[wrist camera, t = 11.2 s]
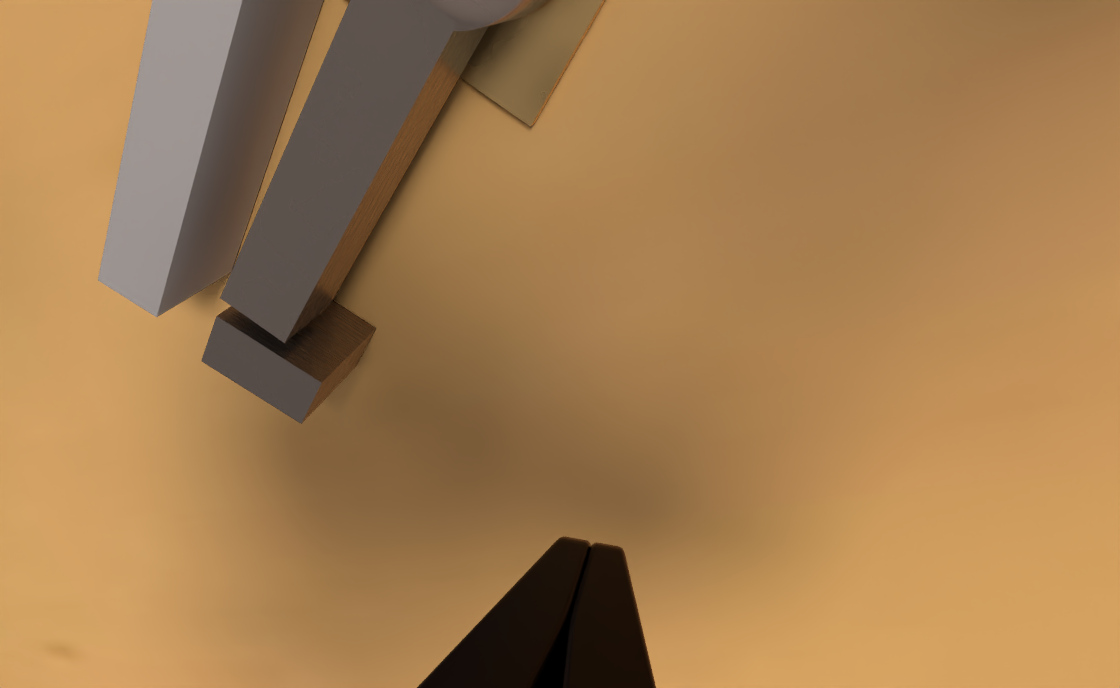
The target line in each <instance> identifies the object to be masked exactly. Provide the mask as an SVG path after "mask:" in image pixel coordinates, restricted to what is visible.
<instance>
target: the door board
mask: <svg viewBox="0 0 1120 688" xmlns="http://www.w3.org/2000/svg"><path fill="white" fill-rule="evenodd" d="M322 3H323V0H153V1H152V6H151V11H150V16H149V21H148V27H147V32H146V37H145V42H144V47H143V52H142V57H141V62H140V68H139V73H138V78H137V83H136V88H135V93H134V98H133V103H132V108H131V114H130V119H129V124H128V129H127V134H126V139H125V144H124V149H123V155H122V160H121V165H120V170H119V175H118V180H117V185H116V190H115V196H114V201H113V206H112V211H111V216H110V221H109V226H108V231H107V236H106V242H105V247H104V252H103V257H102V262H101V267H100V272H99V277H98V281H100V282H102V283H103V284H105V285H106V286H108V287H109V288H111V289H113V290H114V291H116V292H117V293H119V294H121V295H122V296H124V297H125V298H127V299H129V300H130V301H132V302H133V303H135V304H136V305H138V306H140V307H141V308H143V309H144V310H146V311H148V312H149V313H151V314H152V315H154V316H156V317H158V316H160V315H161V314H163V313H164V312H166V311H168V310H169V309H171V308H173V307H174V306H176V305H178V304H179V303H181V302H183V301H184V300H186V299H188V298H189V297H191V296H193V295H194V294H196V293H197V292H199V291H201V290H202V289H204V288H206V287H207V286H209V285H211V284H212V283H214V282H216V281H217V280H219V279H221V278H222V277H224V276H225V275H227V274H229V273H230V272H232V269H233V266H234V263H235V260H236V257H237V254H238V251H239V248H240V245H241V242H242V239H243V236H244V233H245V230H246V227H247V224H248V221H249V218H250V215H251V213H252V210H253V207H254V204H255V201H256V198H257V195H258V192H259V189H260V186H261V183H262V180H263V177H264V174H265V171H266V168H267V165H268V162H269V159H270V156H271V153H272V150H273V148H274V145H275V142H276V139H277V136H278V133H279V130H280V127H281V124H282V121H283V118H284V115H285V112H286V109H287V106H288V103H289V100H290V97H291V94H292V91H293V88H294V86H295V83H296V80H297V77H298V74H299V71H300V68H301V65H302V62H303V59H304V56H305V53H306V50H307V47H308V44H309V41H310V38H311V35H312V32H313V29H314V26H315V23H316V21H317V18H318V15H319V12H320V9H321V6H322Z"/></svg>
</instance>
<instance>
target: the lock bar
mask: <svg viewBox="0 0 1120 688" xmlns="http://www.w3.org/2000/svg"><path fill="white" fill-rule="evenodd" d="M546 1H547V0H350V2H349V4H348V7H347V9H346V11H345V14H344V16H343V18H342V20H341V23H340V25H339V27H338V30H337V32H336V34H335V37H334V39H333V41H332V43H331V46H330V48H329V50H328V53H327V55H326V57H325V59H324V62H323V64H322V66H321V69H320V71H319V73H318V75H317V78H316V80H315V82H314V85H313V87H312V89H311V91H310V94H309V96H308V98H307V101H306V103H305V105H304V107H303V110H302V112H301V114H300V117H299V119H298V121H297V123H296V126H295V128H294V130H293V133H292V135H291V137H290V139H289V142H288V144H287V146H286V149H285V151H284V153H283V156H282V158H281V160H280V162H279V165H278V167H277V169H276V172H275V174H274V176H273V178H272V181H271V183H270V185H269V188H268V190H267V192H266V194H265V197H264V199H263V201H262V204H261V206H260V208H259V210H258V213H257V215H256V217H255V220H254V222H253V224H252V226H251V229H250V231H249V233H248V236H247V238H246V240H245V242H244V245H243V247H242V249H241V252H240V254H239V256H238V258H237V261H236V263H235V265H234V268H233V270H232V272H231V275H230V277H229V279H228V281H227V284H226V286H225V288H224V291H223V293H222V295H221V297H220V298H221V299H222V300H224V301H225V302H227V303H228V304H229V305H231V306H232V307H234V308H235V309H237V310H238V311H239V312H241V313H242V314H244V315H245V316H247V317H248V318H249V319H251V320H252V321H254V322H255V323H256V324H258V325H259V326H261V327H262V328H264V329H265V330H266V331H268V332H269V333H271V334H272V335H274V336H275V337H276V338H278V339H279V340H281V341H282V342H283V343H285V342H287V341H288V340H289V339H290V338H291V337H293V336H294V335H295V334H296V333H297V332H299V331H300V330H301V329H302V328H303V327H305V326H306V325H307V324H308V323H309V322H311V321H312V320H313V319H314V318H315V317H317V316H318V315H319V314H320V313H321V312H323V311H324V310H325V309H326V308H327V307H329V305H330V304H331V302H332V300H333V298H334V297H335V295H336V293H337V291H338V290H339V288H340V286H341V284H342V283H343V281H344V279H345V277H346V276H347V274H348V272H349V270H350V269H351V267H352V265H353V263H354V262H355V260H356V258H357V256H358V254H359V253H360V251H361V249H362V247H363V246H364V244H365V242H366V240H367V239H368V237H369V235H370V233H371V232H372V230H373V228H374V226H375V225H376V223H377V221H378V219H379V218H380V216H381V214H382V212H383V211H384V209H385V207H386V205H387V204H388V202H389V200H390V198H391V196H392V195H393V193H394V191H395V189H396V188H397V186H398V184H399V182H400V181H401V179H402V177H403V175H404V174H405V172H406V170H407V168H408V167H409V165H410V163H411V161H412V160H413V158H414V156H415V154H416V153H417V151H418V149H419V147H420V146H421V144H422V142H423V140H424V139H425V137H426V135H427V133H428V131H429V130H430V128H431V126H432V124H433V123H434V121H435V119H436V117H437V116H438V114H439V112H440V110H441V109H442V107H443V105H444V103H445V102H446V100H447V98H448V96H449V95H450V93H451V91H452V89H453V88H454V86H455V84H456V82H457V81H458V79H459V77H460V75H461V74H462V72H463V70H464V68H465V66H466V65H467V63H468V61H469V59H470V58H471V56H472V54H473V52H474V51H475V49H476V47H477V45H478V44H479V42H480V40H481V38H482V37H483V35H484V33H485V31H486V30H487V28H488V26H490V25H494V24H498V23H502V22H506V21H510V20H514V19H518V18H521V17H523V16H525V15H528V14H529V13H531V12H533V11H534V10H536V9H537V8H539V7H540V6H541V5H542V4H543V3H545V2H546Z"/></svg>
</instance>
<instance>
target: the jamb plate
mask: <svg viewBox="0 0 1120 688" xmlns="http://www.w3.org/2000/svg"><path fill="white" fill-rule="evenodd" d="M604 2H605V0H547V1H546V2H545V3H543V4H542V5H541V6H540V7H539V8H537V9H536V10H534V11H533V12H531V13H529V14H528V15H525V16H523V17H521V18H518V19H514V20H510V21H506V22H502V23H498V24H494V25H490V26H488V28H487V30H486V31H485V33H484V35H483V37H482V38H481V40H480V42H479V44H478V45H477V47H476V49H475V51H474V52H473V54H472V56H471V58H470V59H469V61H468V63H467V65H466V66H465V68H464V70H463V72H462V74H461V75H460V78H462V79H463V80H464V81H466V82H467V83H469V84H470V85H472V86H473V87H474V88H476V89H477V90H479V91H480V92H482V93H483V94H484V95H486V96H487V97H489V98H490V99H492V100H493V101H494V102H496V103H497V104H499V105H500V106H502V107H503V108H504V109H506V110H507V111H509V112H510V113H512V114H513V115H514V116H516V117H517V118H519V119H520V120H522V121H523V122H524V123H526V124H527V125H529V126H530V127H531V126H532V125H533V124H534V123H535V122H536V120H537V118H538V116H539V115H540V113H541V111H542V110H543V108H544V106H545V104H546V103H547V101H548V99H549V97H550V96H551V94H552V92H553V90H554V89H555V87H556V85H557V83H558V82H559V80H560V78H561V76H562V75H563V73H564V71H565V70H566V68H567V66H568V64H569V63H570V61H571V59H572V57H573V56H574V54H575V52H576V50H577V49H578V47H579V45H580V43H581V42H582V40H583V38H584V37H585V35H586V33H587V31H588V30H589V28H590V26H591V24H592V23H593V21H594V19H595V17H596V16H597V14H598V12H599V10H600V9H601V7H602V5H603V3H604Z"/></svg>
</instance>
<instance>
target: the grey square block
mask: <svg viewBox="0 0 1120 688" xmlns="http://www.w3.org/2000/svg"><path fill="white" fill-rule="evenodd" d="M375 329H376V328H374V327H373V326H371V325H369V324H368V323H366V322H365V321H363V320H362V319H360V318H359V317H357V316H356V315H354V314H353V313H351V312H349V311H348V310H346V309H345V308H343V307H342V306H340V305H339V304H337V303H336V302H334V301H333V300H332V302H331V304H330V305H329V307H327V308H326V309H325V310H324V311H323V312H321V313H320V314H319V315H318V316H317V317H315V318H314V319H313V320H312V321H311V322H309V323H308V324H307V325H306V326H305V327H303V328H302V329H301V330H300V331H299V332H297V333H296V334H295V335H294V336H293V337H291V338H290V339H289V340H288V341H287V342H285V343H283V342H282V341H281V340H279V339H278V338H276V337H275V336H274V335H272V334H271V333H269V332H268V331H266V330H265V329H264V328H262V327H261V326H259V325H258V324H256V323H255V322H254V321H252V320H251V319H249V318H248V317H247V316H245V315H244V314H242V313H241V312H239V311H238V310H237V309H235V308H234V307H232V306H231V307H229V308H228V309H226V310H225V311H223V312H222V313H221V314H219V315H218V316H216V319H215V322H214V325H213V328H212V331H211V334H210V337H209V340H208V343H207V346H206V349H205V352H204V355H203V358H202V362H204V363H205V364H207V365H208V366H210V367H212V368H213V369H215V370H216V371H218V372H220V373H221V374H223V375H224V376H226V377H228V378H229V379H231V380H232V381H234V382H235V383H237V384H239V385H240V386H242V387H243V388H245V389H247V390H248V391H250V392H251V393H253V394H255V395H256V396H258V397H259V398H261V399H263V400H264V401H266V402H267V403H269V404H271V405H272V406H274V407H275V408H277V409H279V410H280V411H282V412H283V413H285V414H287V415H288V416H290V417H291V418H293V419H295V420H296V421H298V422H299V423H301V424H302V423H303V422H304V421H305V419H306V418H307V417H308V416H309V415H310V414H311V413H312V412H313V411H314V410H315V409H316V408H317V407H318V406H319V405H320V404H321V403H322V402H323V401H324V400H325V398H326V397H327V396H328V395H329V394H330V393H331V392H332V391H333V390H334V389H335V388H336V387H337V386H338V385H339V384H340V383H341V382H342V381H343V380H344V379H345V377H346V376H347V375H348V374H349V373H350V372H351V371H352V370H353V369H354V368H355V367H356V365H357V363H358V361H359V360H360V358H361V356H362V354H363V352H364V350H365V348H366V346H367V344H368V343H369V341H370V339H371V337H372V335H373V333H374V331H375Z"/></svg>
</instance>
